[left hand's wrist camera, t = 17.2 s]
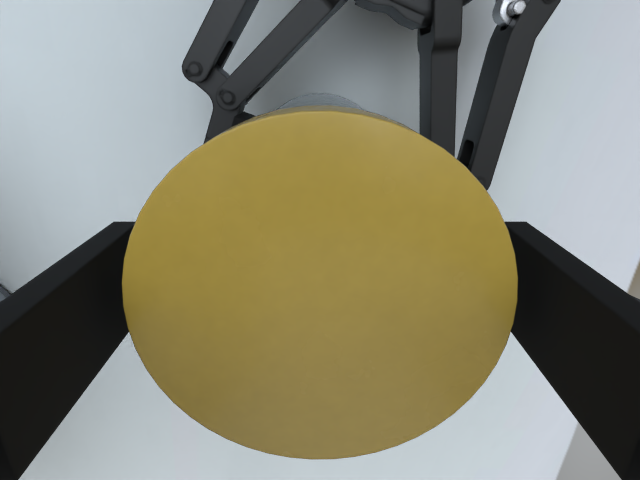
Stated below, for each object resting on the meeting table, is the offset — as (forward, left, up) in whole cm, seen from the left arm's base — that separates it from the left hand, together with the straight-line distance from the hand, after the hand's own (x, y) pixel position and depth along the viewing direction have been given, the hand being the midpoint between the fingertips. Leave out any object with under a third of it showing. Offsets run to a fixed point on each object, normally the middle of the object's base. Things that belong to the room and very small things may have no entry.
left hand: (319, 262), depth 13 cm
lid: (0, 0, +3) cm, 3 cm away
